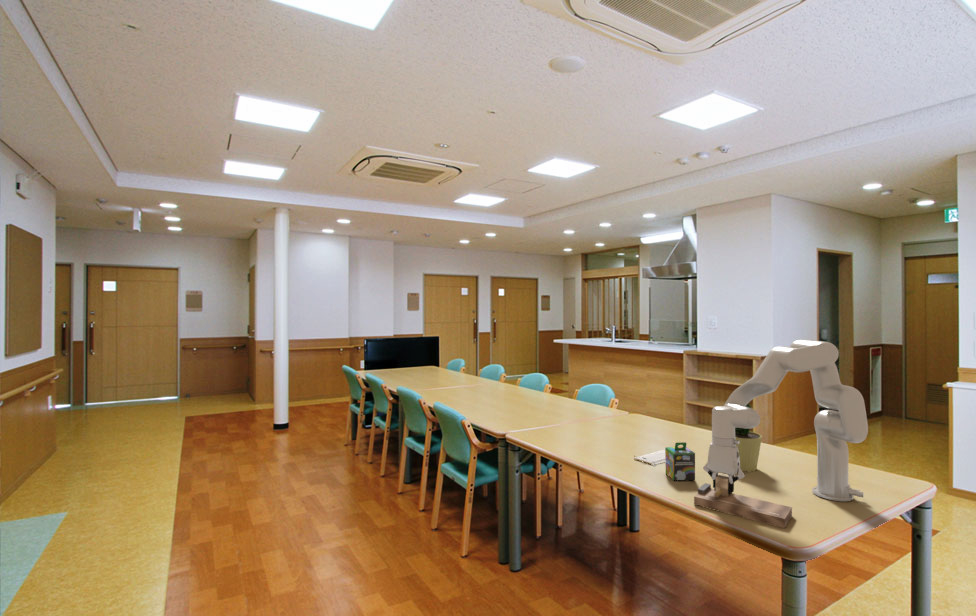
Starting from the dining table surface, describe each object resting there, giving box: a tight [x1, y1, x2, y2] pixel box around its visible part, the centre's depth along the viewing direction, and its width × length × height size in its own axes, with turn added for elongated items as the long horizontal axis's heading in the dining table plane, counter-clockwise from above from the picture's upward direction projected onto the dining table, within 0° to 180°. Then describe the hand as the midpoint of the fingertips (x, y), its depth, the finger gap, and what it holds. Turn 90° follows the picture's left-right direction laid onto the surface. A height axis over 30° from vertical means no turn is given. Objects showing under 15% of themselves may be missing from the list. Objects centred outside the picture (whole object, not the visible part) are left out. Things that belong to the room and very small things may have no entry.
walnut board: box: [693, 482, 793, 529], centre depth 169 cm, size 28×12×4 cm, turn 49°
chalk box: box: [664, 441, 696, 482], centre depth 202 cm, size 9×9×15 cm
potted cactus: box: [735, 403, 763, 473], centre depth 214 cm, size 15×15×30 cm
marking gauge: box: [714, 473, 729, 499], centre depth 175 cm, size 4×12×8 cm, turn 139°
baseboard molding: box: [633, 448, 666, 466], centre depth 229 cm, size 31×3×12 cm
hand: (723, 491), depth 176 cm, fingers closed on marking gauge, 3 cm apart
